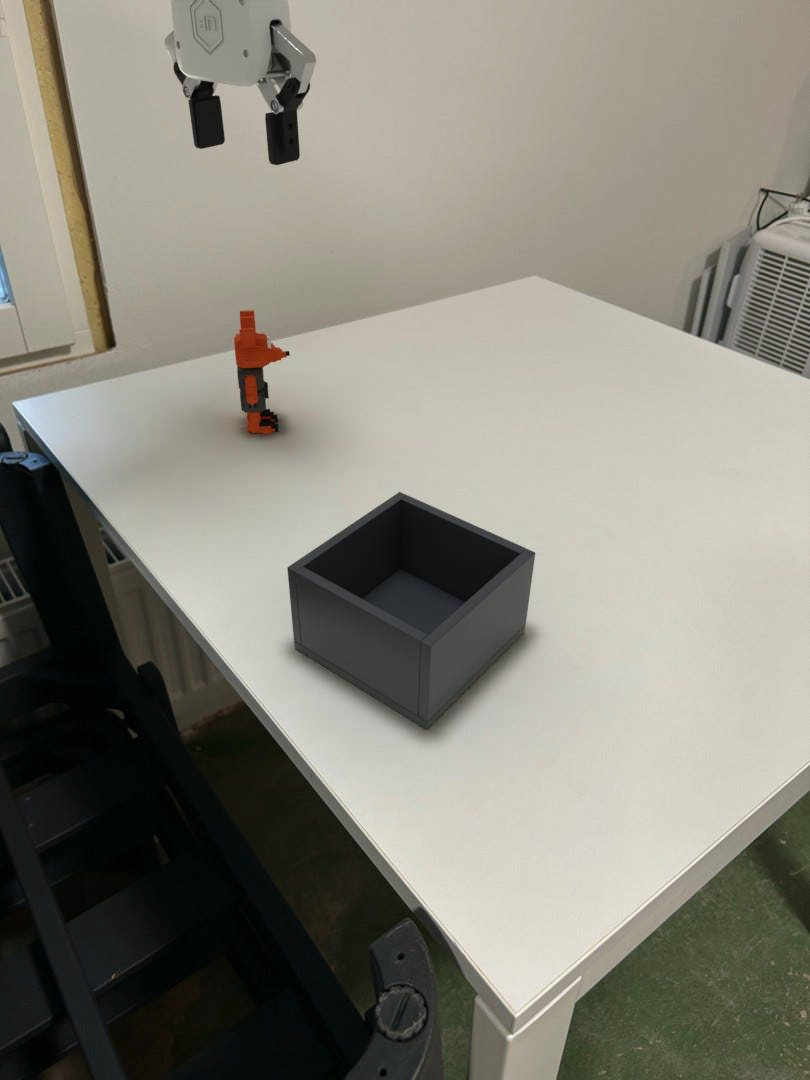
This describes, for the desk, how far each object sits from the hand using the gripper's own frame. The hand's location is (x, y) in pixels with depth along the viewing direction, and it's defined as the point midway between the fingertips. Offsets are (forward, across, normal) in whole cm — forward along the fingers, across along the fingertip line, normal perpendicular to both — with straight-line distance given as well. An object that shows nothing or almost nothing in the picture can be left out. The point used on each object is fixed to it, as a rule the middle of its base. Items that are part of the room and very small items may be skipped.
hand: (246, 153), depth 74 cm
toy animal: (+28, 0, 0) cm, 28 cm away
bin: (+27, +33, -18) cm, 46 cm away
